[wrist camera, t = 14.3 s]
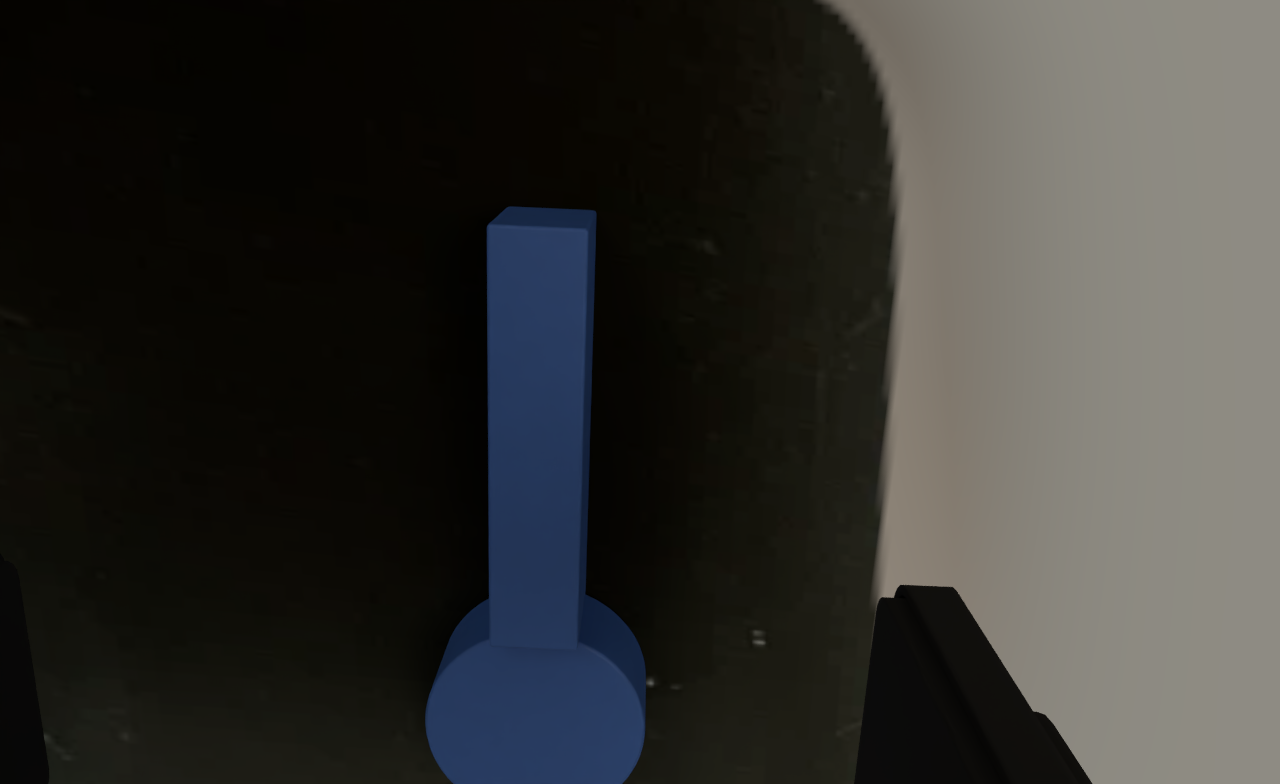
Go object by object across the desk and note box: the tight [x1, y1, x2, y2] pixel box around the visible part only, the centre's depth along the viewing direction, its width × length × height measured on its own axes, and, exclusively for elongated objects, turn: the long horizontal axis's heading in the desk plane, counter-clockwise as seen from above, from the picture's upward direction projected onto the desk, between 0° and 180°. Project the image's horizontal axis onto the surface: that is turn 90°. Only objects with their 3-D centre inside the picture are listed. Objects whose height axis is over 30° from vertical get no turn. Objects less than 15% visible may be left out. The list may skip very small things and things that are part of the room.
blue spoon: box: [425, 207, 646, 784], centre depth 18 cm, size 12×4×2 cm, turn 177°
